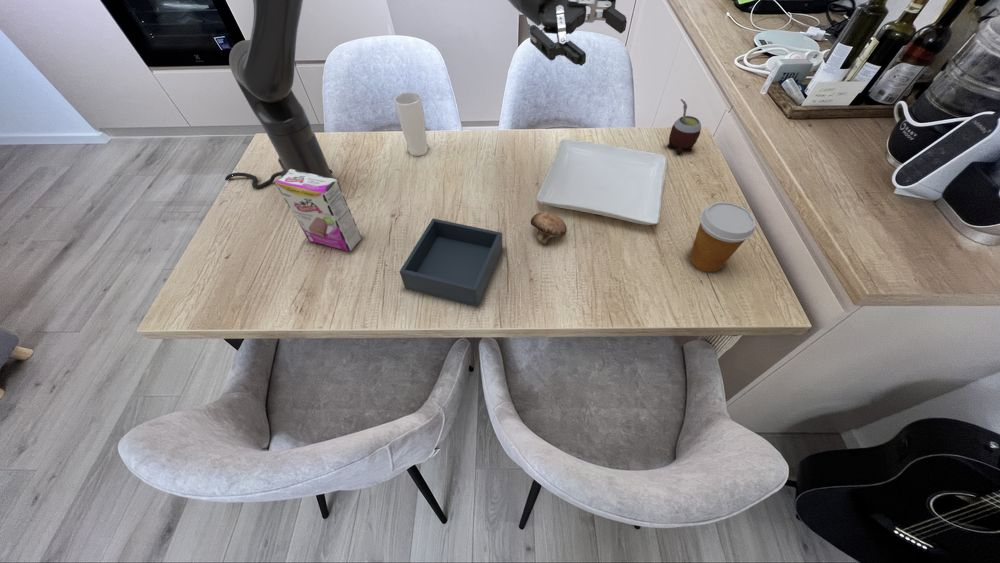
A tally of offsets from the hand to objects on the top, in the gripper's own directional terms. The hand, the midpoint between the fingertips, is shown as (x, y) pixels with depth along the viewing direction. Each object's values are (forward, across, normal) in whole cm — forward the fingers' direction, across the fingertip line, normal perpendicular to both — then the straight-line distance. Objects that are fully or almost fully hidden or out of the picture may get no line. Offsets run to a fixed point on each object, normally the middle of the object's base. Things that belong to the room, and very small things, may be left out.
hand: (604, 43), depth 62 cm
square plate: (+6, 0, +39) cm, 39 cm away
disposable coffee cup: (+34, 0, +31) cm, 47 cm away
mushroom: (+8, -20, +31) cm, 38 cm away
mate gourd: (+8, +26, +48) cm, 55 cm away
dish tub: (+3, -41, +25) cm, 48 cm away
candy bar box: (-21, -57, +25) cm, 66 cm away
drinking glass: (-38, -27, +40) cm, 62 cm away
